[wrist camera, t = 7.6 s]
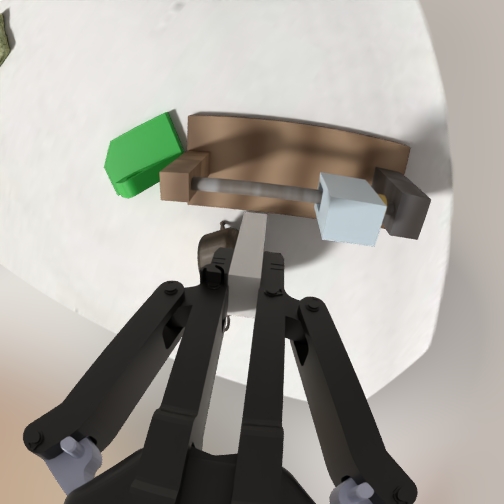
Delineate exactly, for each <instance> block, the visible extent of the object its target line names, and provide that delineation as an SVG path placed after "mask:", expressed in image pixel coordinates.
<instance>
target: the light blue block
mask: <svg viewBox="0 0 504 504" xmlns="http://www.w3.org/2000/svg"><path fill="white" fill-rule="evenodd" d="M317 190H323V195H322V200H321V204H316V203H315V205H314V208H315V212H316V216H317V220H318V225H319V229H320V233H321V237H322V240H328V241H336V242H344V243H351V244H359V245H366V246H374V247H375V244H376V241H377V238H378V234H379V231H380V228H381V225H382V221H383V218H384V215H385V211H386V208H387V206H386V205H385V203H384V202H383V201H382V199H381V198H380V197H379V196H378V194H377V193H376V192H375V191H374V189H373V188H372V187H371V186H370V185H369V183H368V182H367V181H366V180H363V179H358V178H353V177H347V176H341V175H335V174H329V173H323V172H320V178H319V183H318V189H317Z"/></svg>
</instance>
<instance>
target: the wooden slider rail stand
mask: <svg viewBox="0 0 504 504" xmlns="http://www.w3.org/2000/svg"><path fill="white" fill-rule="evenodd" d="M409 152H410V147H409V146H406V145H403V144H399V143H395V142H392V141H388V140H384V139H380V138H375V137H371V136H367V135H362V134H357V133H353V132H348V131H343V130H337V129H332V128H326V127H320V126H314V125H307V124H301V123H293V122H285V121H277V120H267V119H257V118H245V117H229V116H206V115H190V116H188V133H187V151H186V152H185V153H184V154H182V155H181V156H180V157H178V158H177V159H176V160H174V161H173V162H172V163H170V164H169V165H168V166H166V167H165V168H164V169H163V170H161V171H160V193H161V200H165V201H178V202H188V205H198V206H209V207H219V208H230V209H239V210H249V211H258V212H267V213H275V214H284V215H292V216H300V217H308V218H315V219H317V216H316V212H315V208H314V205H315V203H316V204H321V200H322V195H323V190H317V189H318V183H319V178H320V172H323V173H329V174H335V175H341V176H347V177H353V178H358V179H363V180H366V181H367V182H368V183H369V185H370V186H371V187H372V188H373V189H374V191H375V192H376V193H377V194H378V196H379V197H380V198H381V199H382V201H383V202H384V203H385V205H386V206H387V208H386V211H385V215H384V218H383V221H382V225H381V228H383V229H386V230H387V232H388V233H389V235H391V236H398V237H404V238H410V239H416V240H418V237H419V234H420V232H421V229H422V226H423V223H424V220H425V217H426V214H427V211H428V208H429V205H430V202H431V199H430V198H429V197H428V196H427V195H426V194H425V193H423V192H422V191H421V190H420V189H419V188H418V187H417V186H416V185H414V184H413V183H412V182H411V181H410V180H409V179H407V178H406V177H405V176H404V174H405V170H406V165H407V161H408V157H409Z"/></svg>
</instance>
